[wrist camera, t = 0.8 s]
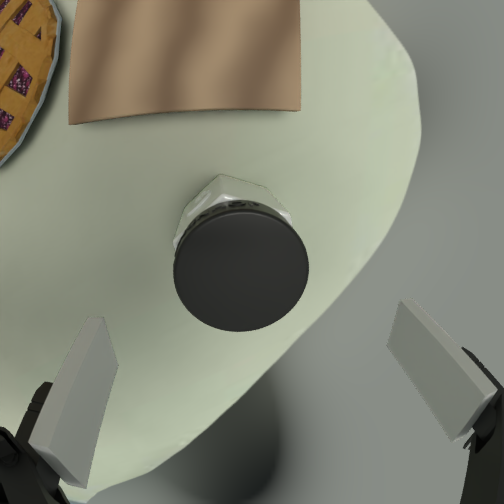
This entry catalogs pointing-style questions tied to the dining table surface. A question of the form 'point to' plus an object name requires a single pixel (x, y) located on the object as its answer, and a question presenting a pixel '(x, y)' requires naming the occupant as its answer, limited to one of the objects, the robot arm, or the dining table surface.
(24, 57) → the pie
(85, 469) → the robot arm
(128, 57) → the wooden serving stand
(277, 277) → the jar
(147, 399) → the dining table surface
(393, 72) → the dining table surface
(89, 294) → the dining table surface
